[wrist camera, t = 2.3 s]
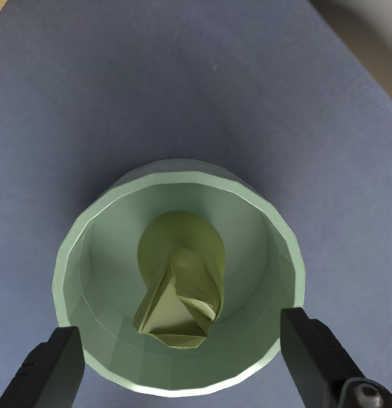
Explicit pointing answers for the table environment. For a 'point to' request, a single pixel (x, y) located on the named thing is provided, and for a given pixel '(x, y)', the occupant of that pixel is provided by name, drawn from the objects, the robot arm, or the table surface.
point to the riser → (2, 3)
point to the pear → (180, 279)
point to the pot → (136, 290)
